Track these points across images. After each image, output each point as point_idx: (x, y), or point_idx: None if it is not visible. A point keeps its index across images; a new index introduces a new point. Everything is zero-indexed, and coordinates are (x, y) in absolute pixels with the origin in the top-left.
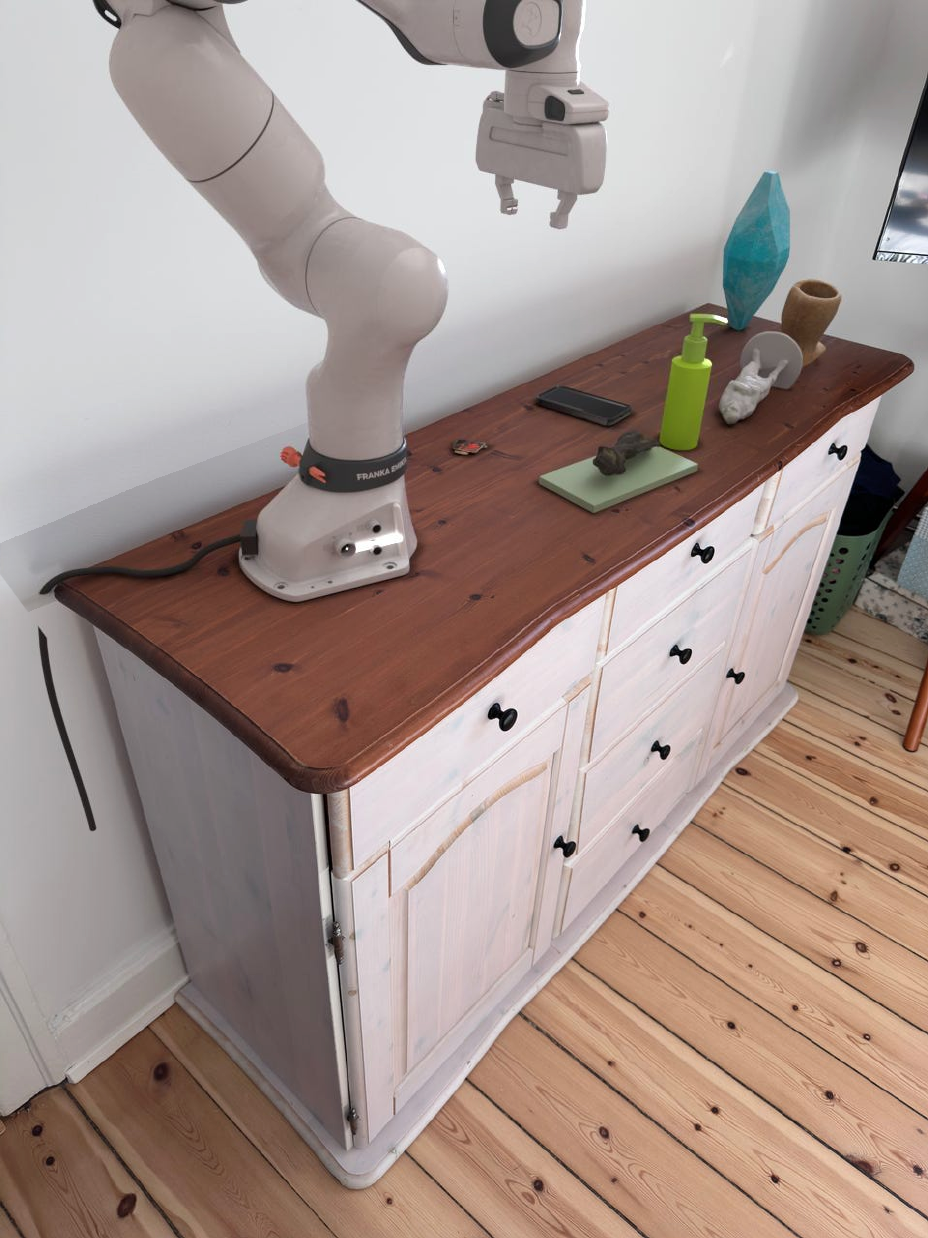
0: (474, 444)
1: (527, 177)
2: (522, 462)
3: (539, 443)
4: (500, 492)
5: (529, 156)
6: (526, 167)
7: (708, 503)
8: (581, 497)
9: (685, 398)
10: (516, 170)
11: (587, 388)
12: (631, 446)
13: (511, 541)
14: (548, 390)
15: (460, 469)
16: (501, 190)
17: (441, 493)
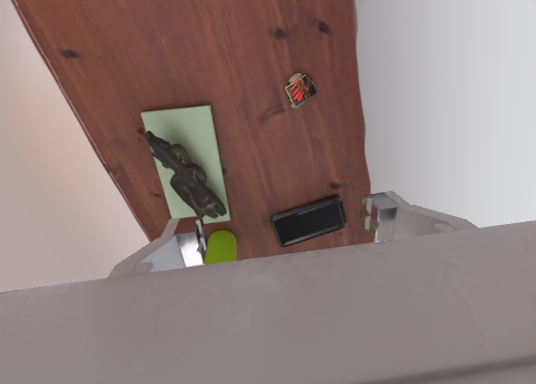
0: (299, 97)
1: (291, 259)
2: (252, 117)
3: (275, 153)
4: (211, 62)
5: (307, 338)
6: (311, 287)
7: (127, 199)
8: (158, 112)
9: (207, 260)
10: (368, 260)
11: (335, 244)
12: (175, 182)
13: (120, 7)
14: (343, 213)
15: (268, 56)
16: (423, 217)
17: (234, 5)
